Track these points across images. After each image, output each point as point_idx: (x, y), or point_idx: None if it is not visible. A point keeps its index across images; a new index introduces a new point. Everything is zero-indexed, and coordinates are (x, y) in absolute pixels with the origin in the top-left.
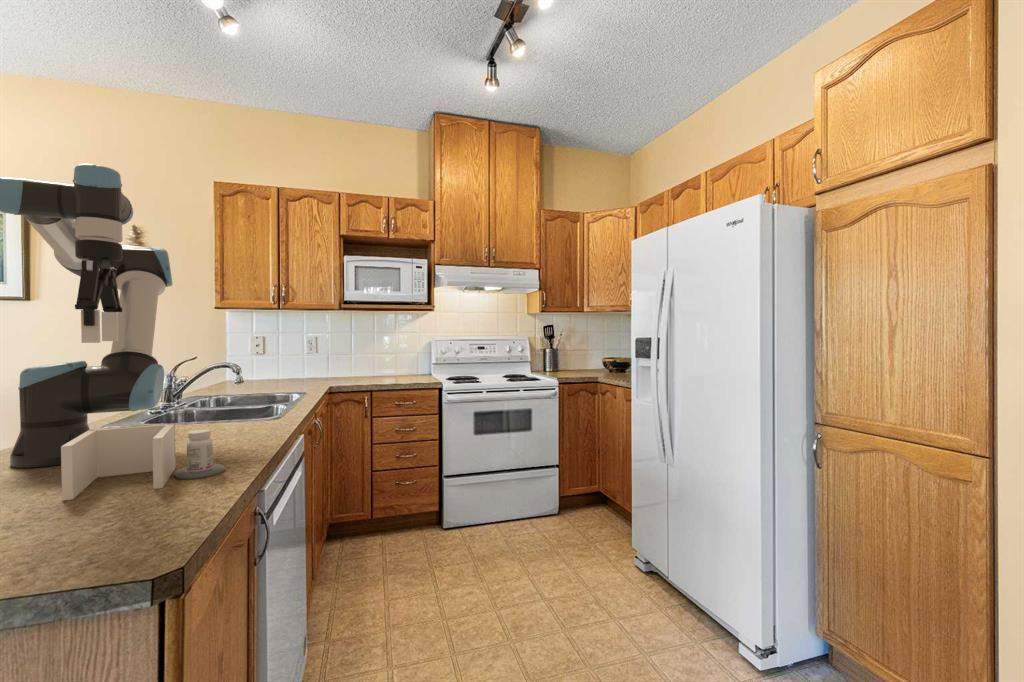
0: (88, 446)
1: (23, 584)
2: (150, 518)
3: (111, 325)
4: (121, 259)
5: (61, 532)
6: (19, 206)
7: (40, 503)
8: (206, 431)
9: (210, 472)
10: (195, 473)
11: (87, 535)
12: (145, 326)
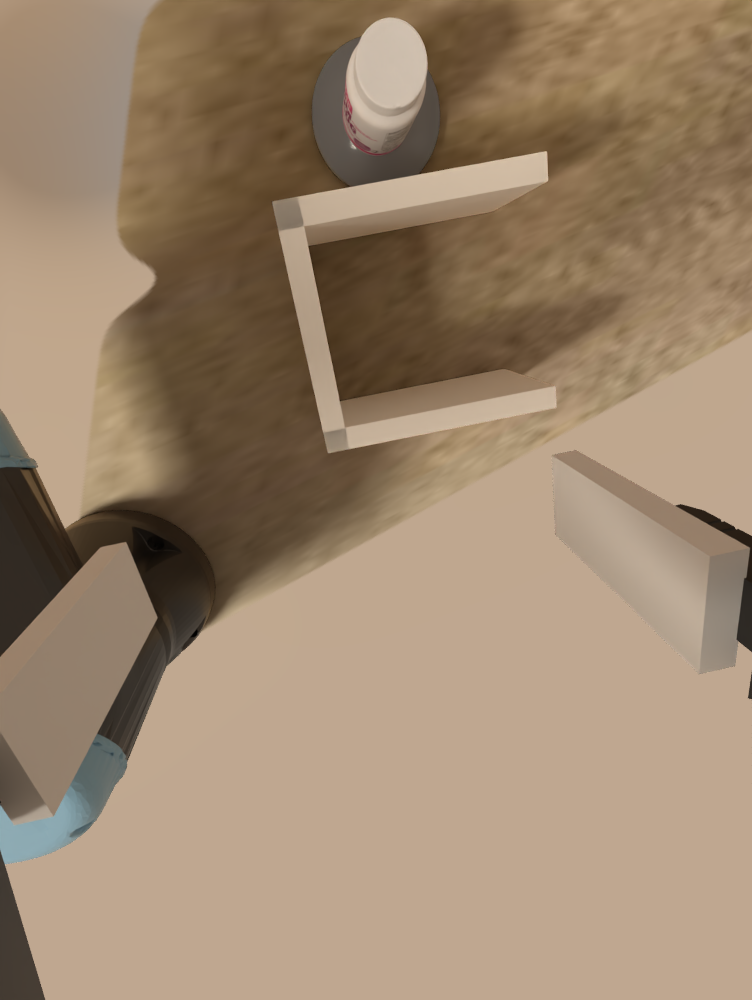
0: (413, 406)
1: None
2: (710, 134)
3: (88, 645)
4: None
5: (703, 288)
6: None
7: (506, 419)
8: (409, 27)
9: None
10: (418, 120)
11: (745, 230)
12: None
